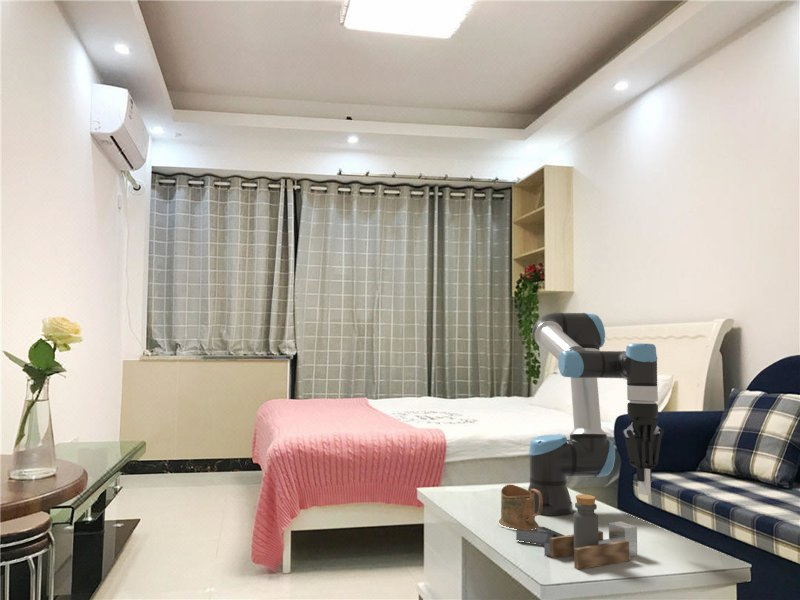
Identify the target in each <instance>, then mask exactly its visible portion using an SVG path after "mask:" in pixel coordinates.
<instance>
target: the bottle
mask: <svg viewBox="0 0 800 600" xmlns="http://www.w3.org/2000/svg"><path fill="white" fill-rule="evenodd" d="M575 499H576V500H575V501H576V502H575V503H574V507H575V509H577V511H575V512H574V513H573V534H574V548H579V547H585V546H592V545H598V544H599V531H600V530H599V514H597V513H596V512H595V511H596V510H597V504H596V497H595V496H594V495H591V494H583V493H582V494H576V495H575Z"/></svg>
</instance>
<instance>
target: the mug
mask: <svg viewBox="0 0 800 600" xmlns="http://www.w3.org/2000/svg"><path fill="white" fill-rule="evenodd" d="M534 492H536V493H537V494H538V496H539V509H538V512H537V513H535V497H534V496H535V494H534ZM500 497H501V501H500V503H501V505H500V506H501V508H500V513H501V514H500V519H499V520H498V521H499V523H500V524H501V525H503V526H506V527H509V528H514V529H522V530H531V529H535V528H537V527H539V524H538V522H537V521H536V517H537V516H540V515H542V514H541V512H542V508H543V497H542V494H541V493H540V491H538V490H536V489H531V492H529V491H528V489H526V488H524V487H520V486H518V485H515V484H505V485H503V487H502V488H501V491H500ZM537 529H538V528H537ZM535 530H536V529H535ZM531 531H532V530H531Z"/></svg>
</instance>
